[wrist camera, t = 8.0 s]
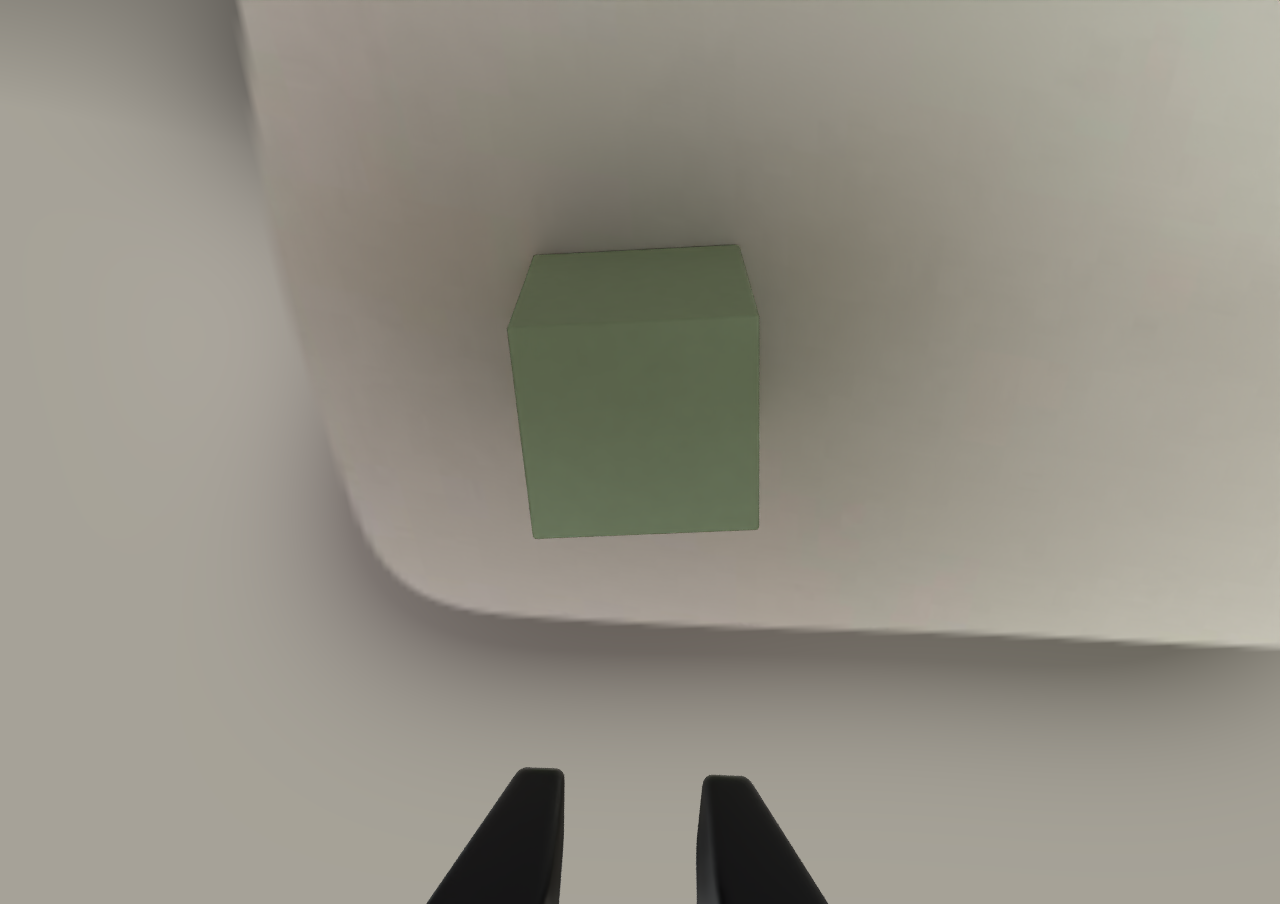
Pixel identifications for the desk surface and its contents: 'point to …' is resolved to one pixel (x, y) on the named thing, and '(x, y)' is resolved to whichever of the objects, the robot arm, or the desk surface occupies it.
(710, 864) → the robot arm
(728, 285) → the block
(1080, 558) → the desk surface
